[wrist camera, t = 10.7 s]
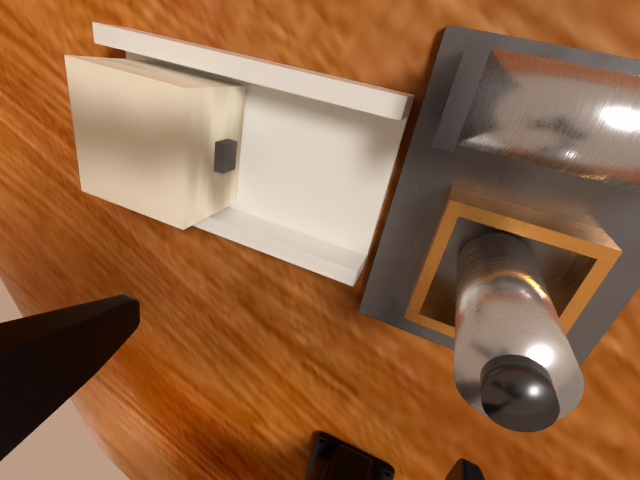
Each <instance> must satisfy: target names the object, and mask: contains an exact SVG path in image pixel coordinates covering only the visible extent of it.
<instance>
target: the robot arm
mask: <svg viewBox="0 0 640 480" xmlns="http://www.w3.org/2000/svg"><path fill="white" fill-rule="evenodd" d="M139 323H140V305H139V301H138V300H137V299H136V298H134V297H132V296H130V295H127V294H122V295H117V296H113V297H109V298H105V299H100V300H96V301H92V302H88V303H84V304H79V305H75V306H71V307H67V308H62V309H58V310H54V311H50V312H45V313H41V314H37V315H33V316H28V317H24V318H20V319H16V320H11V321H8V322H3V323H0V461H1V460H2V459H3V458H4V457H5V456H7V455H8V454H9V453H10V452H11V451H12V450H13V449H14V448H15V447H16V446H17V445H19V444H20V443H21V442H22V441H23V440H24V439H25V438H26V437H27V436H28V435H30V434H31V433H32V432H33V431H34V430H35V429H36V428H37V427H38V426H39V425H40V424H41V423H43V422H44V421H45V420H46V419H47V418H48V417H49V416H50V415H51V414H52V413H53V412H55V411H56V410H57V409H58V408H59V407H60V406H61V405H62V404H63V403H64V402H65V401H66V400H68V399H69V398H70V397H71V396H72V395H73V394H74V393H75V392H76V391H77V390H79V389H80V388H81V387H82V386H83V385H84V384H85V383H86V382H87V381H88V380H89V379H90V378H91V377H93V376H94V375H95V374H96V373H97V372H98V371H99V370H100V369H101V367H102V366H103V365H104V364H105V363H106V362H107V361H108V360H109V359H110V358H111V357H112V356H113V354H114V353H115V352H116V351H117V350H118V349H119V348H120V347H121V346H122V345H123V343H124V342H125V341H126V340H127V339H128V338H129V337H130V336H131V335H132V334H133V332H134V331H135V330H136V329H137V327H138V325H139ZM394 473H395V470H394V468H393V467H391V466H390V465H388V464H386V463H384V462H382V461H380V460H378V459H376V458H374V457H372V456H370V455H367V454H365V453H363V452H361V451H359V450H357V449H355V448H353V447H351V446H349V445H347V444H345V443H343V442H341V441H339V440H337V439H335V438H333V437H331V436H329V435H327V434H325V433H321V432H320V433H318V435H317V437H316V440H315V444H314V447H313V450H312V454H311V457H310V460H309V464H308V467H307V470H306V474H305V480H393V478H394ZM445 480H485V478H484V476H483V473H482V471H481V469H480V468H479V467H478V466H477V465H476V464H474V463H472V462H470V461H467V460H465V459H463V458H460V459H459V460H458V461H457V462H456V464H455V465H454V466H453V468H452V469H451V471H450V472H449V474H448V475H447V476H446V478H445Z"/></svg>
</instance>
